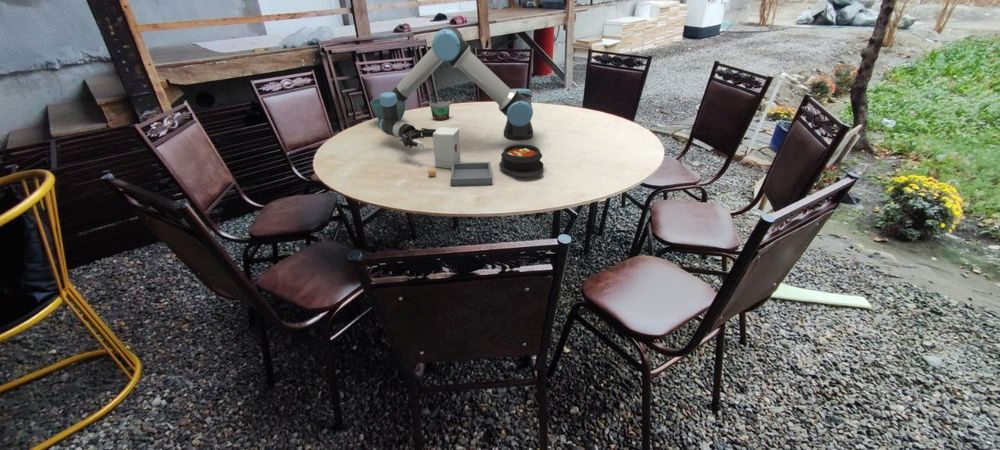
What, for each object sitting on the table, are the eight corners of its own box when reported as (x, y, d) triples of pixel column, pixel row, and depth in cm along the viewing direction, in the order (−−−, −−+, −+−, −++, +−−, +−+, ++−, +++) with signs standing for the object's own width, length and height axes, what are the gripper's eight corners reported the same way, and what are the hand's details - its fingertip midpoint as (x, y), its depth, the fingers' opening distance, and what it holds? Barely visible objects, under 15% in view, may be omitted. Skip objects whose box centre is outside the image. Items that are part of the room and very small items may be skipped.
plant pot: (367, 126, 226) (363, 103, 220) (386, 117, 241) (383, 95, 235) (396, 130, 221) (393, 106, 215) (413, 120, 236) (411, 98, 229)
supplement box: (455, 169, 177) (453, 134, 169) (434, 167, 178) (431, 133, 171) (461, 161, 184) (459, 127, 177) (441, 159, 186) (439, 126, 178)
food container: (434, 122, 232) (432, 104, 227) (430, 119, 237) (428, 101, 232) (454, 119, 237) (453, 101, 232) (450, 116, 242) (449, 99, 236)
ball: (436, 174, 172) (435, 167, 171) (435, 177, 170) (435, 170, 168) (428, 174, 172) (427, 167, 170) (427, 177, 169) (427, 170, 168)
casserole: (553, 178, 169) (554, 158, 165) (509, 183, 165) (509, 164, 160) (531, 156, 190) (532, 138, 185) (492, 160, 185) (491, 142, 181)
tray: (490, 168, 177) (490, 162, 176) (492, 185, 164) (492, 177, 162) (452, 169, 176) (452, 163, 175) (450, 186, 163) (450, 179, 161)
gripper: (426, 132, 203) (456, 142, 191) (383, 146, 187) (413, 158, 175) (425, 117, 199) (455, 126, 187) (380, 130, 183) (411, 141, 171)
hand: (435, 142), depth 181 cm, fingers open, 13 cm apart
